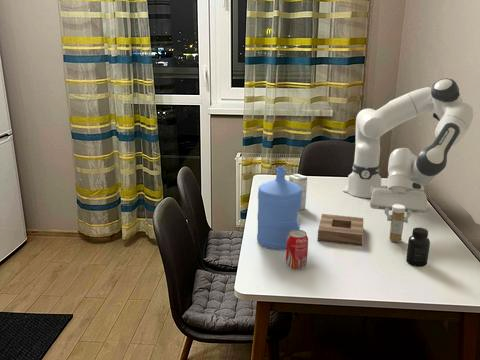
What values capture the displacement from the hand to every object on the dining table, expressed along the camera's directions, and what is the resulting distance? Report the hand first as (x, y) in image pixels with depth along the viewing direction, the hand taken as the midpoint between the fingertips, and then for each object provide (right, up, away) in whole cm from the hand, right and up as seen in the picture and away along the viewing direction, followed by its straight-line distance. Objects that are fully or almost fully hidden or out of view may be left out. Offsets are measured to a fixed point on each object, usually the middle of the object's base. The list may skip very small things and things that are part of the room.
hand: (397, 221), depth 177 cm
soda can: (-39, -14, -16) cm, 45 cm away
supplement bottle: (+2, -13, -13) cm, 19 cm away
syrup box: (-33, +3, +33) cm, 47 cm away
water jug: (-44, -8, +1) cm, 44 cm away
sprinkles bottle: (0, -7, +3) cm, 8 cm away
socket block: (-19, -6, +7) cm, 21 cm away
